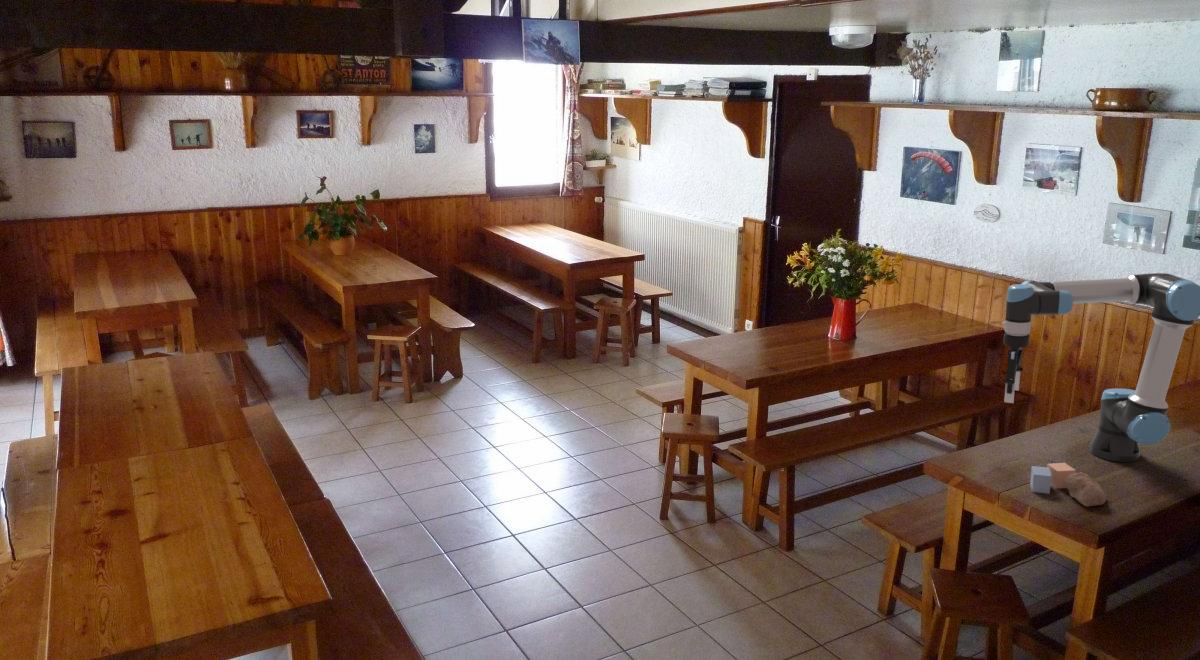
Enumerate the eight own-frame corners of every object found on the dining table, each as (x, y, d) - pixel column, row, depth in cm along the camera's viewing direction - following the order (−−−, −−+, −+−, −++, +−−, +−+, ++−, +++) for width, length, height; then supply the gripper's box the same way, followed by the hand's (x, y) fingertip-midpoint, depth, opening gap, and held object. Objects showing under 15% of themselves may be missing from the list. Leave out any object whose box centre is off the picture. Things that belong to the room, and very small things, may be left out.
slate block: (1047, 485, 297) (1048, 467, 296) (1049, 493, 291) (1051, 476, 290) (1030, 483, 299) (1031, 465, 298) (1032, 492, 293) (1033, 474, 291)
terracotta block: (1062, 479, 301) (1064, 462, 299) (1073, 487, 295) (1075, 470, 294) (1045, 481, 300) (1046, 463, 299) (1055, 488, 295) (1057, 471, 293)
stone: (1065, 497, 294) (1056, 475, 289) (1091, 481, 293) (1082, 459, 289) (1091, 519, 282) (1081, 497, 278) (1118, 503, 282) (1109, 480, 277)
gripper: (1009, 322, 309) (1004, 383, 314) (998, 341, 288) (993, 406, 293) (1033, 325, 305) (1028, 386, 310) (1025, 344, 284) (1019, 409, 290)
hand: (1011, 396), depth 302 cm, fingers open, 13 cm apart
